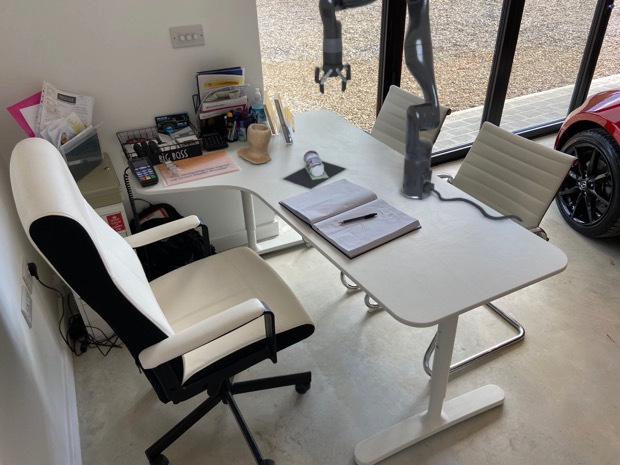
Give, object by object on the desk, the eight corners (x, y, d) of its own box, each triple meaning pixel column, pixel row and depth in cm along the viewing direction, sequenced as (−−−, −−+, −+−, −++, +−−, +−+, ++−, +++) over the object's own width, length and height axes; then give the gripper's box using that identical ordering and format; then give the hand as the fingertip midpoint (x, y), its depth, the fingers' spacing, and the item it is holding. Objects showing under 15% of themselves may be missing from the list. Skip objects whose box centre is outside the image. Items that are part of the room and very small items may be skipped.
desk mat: (345, 169, 201) (345, 168, 201) (310, 188, 187) (310, 187, 187) (319, 161, 209) (318, 159, 208) (283, 179, 195) (283, 178, 194)
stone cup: (278, 160, 210) (275, 126, 203) (254, 168, 205) (250, 133, 197) (259, 150, 221) (256, 117, 213) (236, 157, 215) (232, 123, 207)
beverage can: (316, 147, 200) (325, 159, 190) (318, 164, 204) (326, 176, 194) (301, 150, 199) (309, 162, 189) (303, 167, 203) (311, 179, 193)
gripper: (347, 46, 192) (347, 88, 201) (311, 49, 189) (313, 91, 198) (353, 50, 186) (353, 93, 194) (317, 53, 183) (318, 96, 192)
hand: (332, 92), depth 196 cm, fingers open, 8 cm apart
